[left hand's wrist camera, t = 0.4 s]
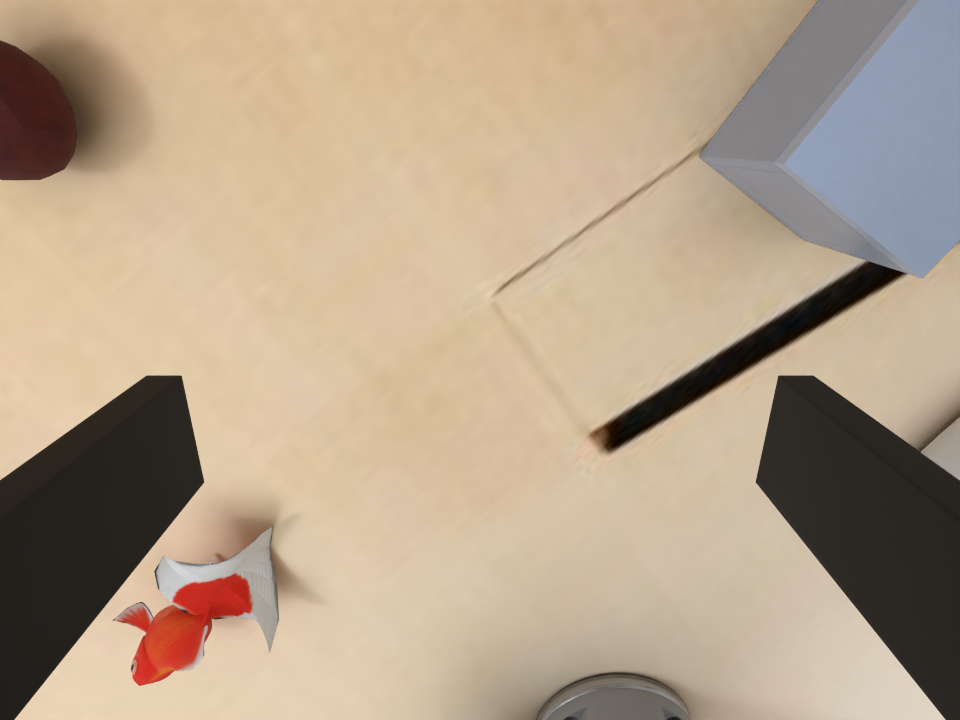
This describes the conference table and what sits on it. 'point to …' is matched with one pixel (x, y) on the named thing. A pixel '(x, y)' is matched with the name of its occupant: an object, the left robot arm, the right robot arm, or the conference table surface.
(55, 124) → the dark brown ball
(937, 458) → the projector
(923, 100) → the lid
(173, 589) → the fish
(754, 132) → the chest
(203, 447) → the conference table surface
